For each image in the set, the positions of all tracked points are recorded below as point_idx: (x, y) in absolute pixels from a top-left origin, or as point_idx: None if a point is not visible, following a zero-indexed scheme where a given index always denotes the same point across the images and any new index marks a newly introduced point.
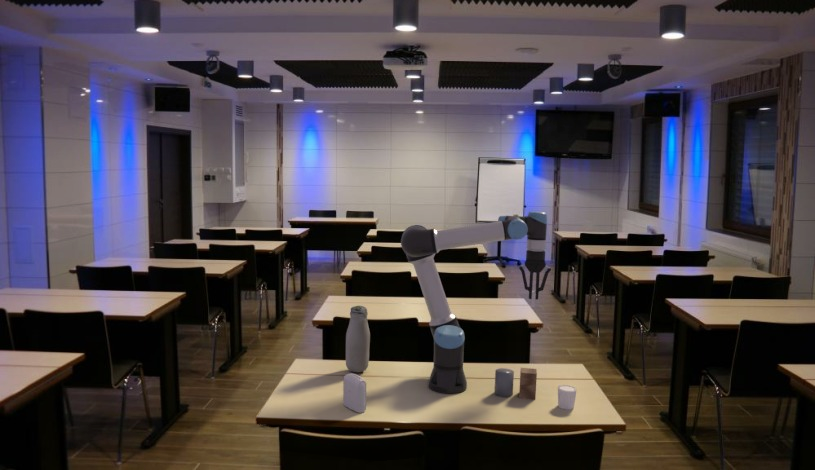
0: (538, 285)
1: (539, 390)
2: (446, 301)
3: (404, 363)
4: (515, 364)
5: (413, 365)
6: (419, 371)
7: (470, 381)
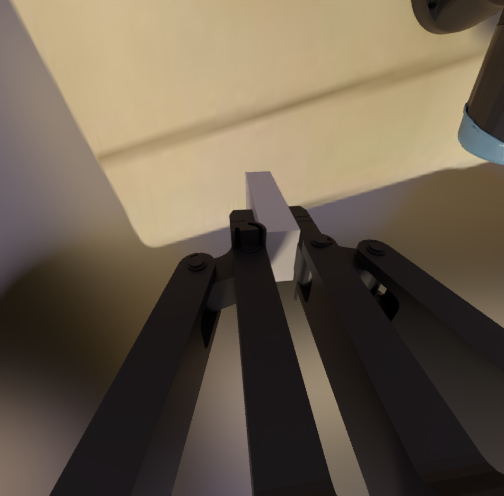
0: (243, 294)
1: (198, 7)
2: None
3: None
4: None
5: None
6: None
7: (384, 45)
